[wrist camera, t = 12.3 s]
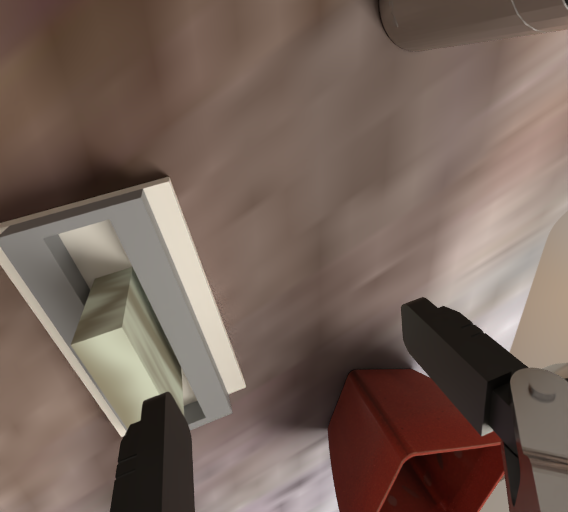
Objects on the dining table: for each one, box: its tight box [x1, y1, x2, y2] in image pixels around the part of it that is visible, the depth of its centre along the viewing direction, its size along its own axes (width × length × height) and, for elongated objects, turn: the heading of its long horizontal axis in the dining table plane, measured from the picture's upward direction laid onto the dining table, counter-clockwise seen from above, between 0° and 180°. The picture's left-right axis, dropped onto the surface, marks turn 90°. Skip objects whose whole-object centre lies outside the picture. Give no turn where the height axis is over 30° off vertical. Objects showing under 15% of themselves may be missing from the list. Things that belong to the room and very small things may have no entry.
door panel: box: [71, 267, 184, 429], centre depth 33 cm, size 4×14×10 cm, turn 12°
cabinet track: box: [0, 177, 246, 437], centre depth 36 cm, size 16×28×5 cm, turn 12°
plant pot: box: [328, 369, 505, 512], centre depth 50 cm, size 19×19×17 cm
